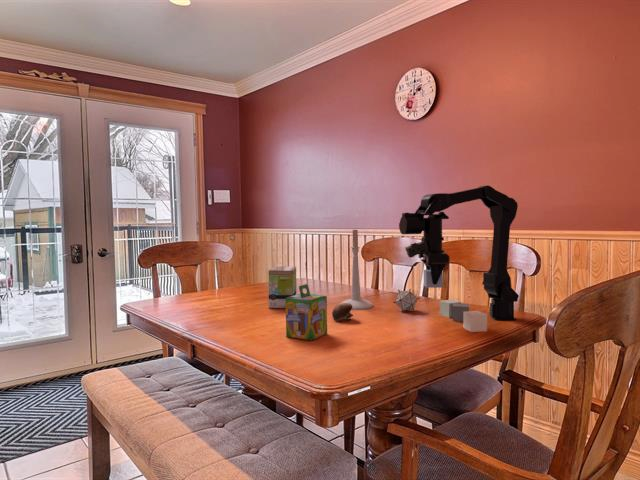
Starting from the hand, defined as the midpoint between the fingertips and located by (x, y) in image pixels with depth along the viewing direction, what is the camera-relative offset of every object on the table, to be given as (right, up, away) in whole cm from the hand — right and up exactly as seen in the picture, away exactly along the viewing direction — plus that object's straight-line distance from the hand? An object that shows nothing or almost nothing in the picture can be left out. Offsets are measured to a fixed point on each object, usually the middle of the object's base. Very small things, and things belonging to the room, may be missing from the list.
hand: (433, 283), depth 134 cm
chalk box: (-40, -15, -11) cm, 43 cm away
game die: (-5, -12, +19) cm, 23 cm away
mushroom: (-28, -13, +8) cm, 32 cm away
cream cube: (+11, -13, -7) cm, 18 cm away
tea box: (-51, -12, +35) cm, 63 cm away
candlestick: (-22, -12, +29) cm, 38 cm away
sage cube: (+9, -12, +11) cm, 19 cm away
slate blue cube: (0, -1, 0) cm, 1 cm away
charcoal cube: (+11, -13, +5) cm, 17 cm away
